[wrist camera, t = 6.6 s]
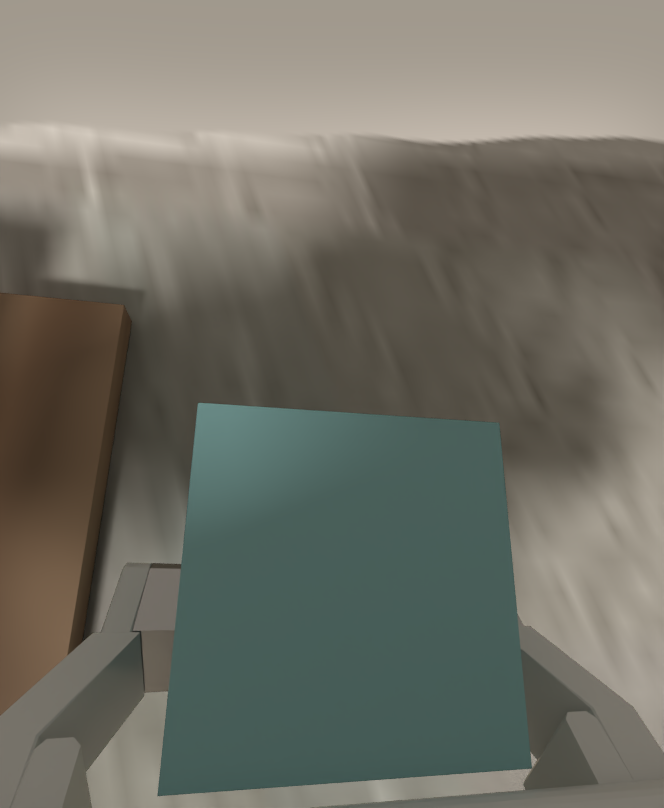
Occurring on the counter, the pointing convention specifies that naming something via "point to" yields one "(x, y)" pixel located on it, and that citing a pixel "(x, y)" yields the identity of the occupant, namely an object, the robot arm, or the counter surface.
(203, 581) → the teal peg
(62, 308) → the walnut board
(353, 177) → the counter surface
